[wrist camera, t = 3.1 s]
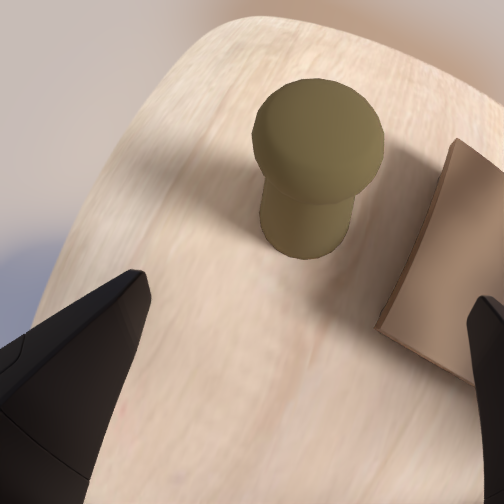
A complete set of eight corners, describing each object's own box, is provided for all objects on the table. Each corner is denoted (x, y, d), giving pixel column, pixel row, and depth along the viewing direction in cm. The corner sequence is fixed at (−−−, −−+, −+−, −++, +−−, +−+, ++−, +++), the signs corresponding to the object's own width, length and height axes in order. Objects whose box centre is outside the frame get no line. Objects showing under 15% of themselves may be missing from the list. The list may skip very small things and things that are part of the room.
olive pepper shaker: (256, 257, 20) (227, 189, 9) (261, 172, 21) (241, 56, 11) (350, 261, 20) (417, 199, 9) (347, 176, 21) (389, 65, 10)
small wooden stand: (558, 262, 17) (584, 253, 14) (509, 411, 15) (536, 420, 12) (436, 161, 20) (456, 137, 17) (362, 327, 19) (379, 329, 15)
